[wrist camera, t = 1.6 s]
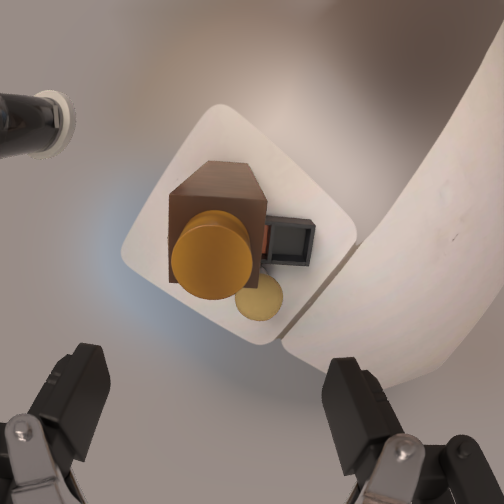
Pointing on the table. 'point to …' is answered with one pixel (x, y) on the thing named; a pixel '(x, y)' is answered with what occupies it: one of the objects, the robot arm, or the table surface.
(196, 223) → the cylinder
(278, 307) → the light bulb
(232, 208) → the block
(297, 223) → the dark grey open box
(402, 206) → the table surface
